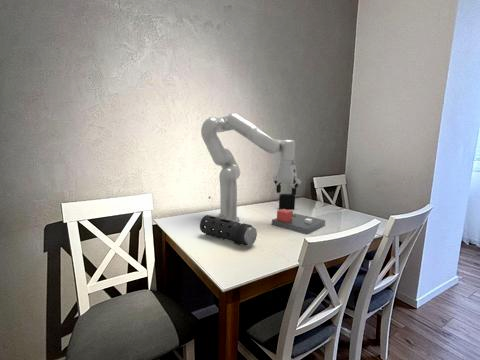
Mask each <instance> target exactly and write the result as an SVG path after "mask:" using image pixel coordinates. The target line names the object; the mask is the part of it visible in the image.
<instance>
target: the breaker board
mask: <svg viewBox="0 0 480 360" xmlns="http://www.w3.org/2000/svg"><path fill="white" fill-rule="evenodd" d="M307 218H308V219H312V223H310V224H309V223H305V219H307ZM271 226H275V227H279V228H283V229H286V230H290V231H293V232H297V233H301V234H304V235H310V234H311V233H313V232H315V231H317V230H319V229H320V228H322V227H326V219H321V218H317V217H313V216H307V215H303V214H299V213H295V212H293V217H292V220H290V221H288V222H284V221H280V220H277V217H276V218H273V219H271Z"/></svg>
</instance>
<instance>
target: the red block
mask: <svg viewBox="0 0 480 360" xmlns="http://www.w3.org/2000/svg"><path fill="white" fill-rule="evenodd" d="M293 213H294V210H286V209H279V210H277V211H276V218H277V220H280V221H284V222H288V221H290V220H292V217H293Z"/></svg>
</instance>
